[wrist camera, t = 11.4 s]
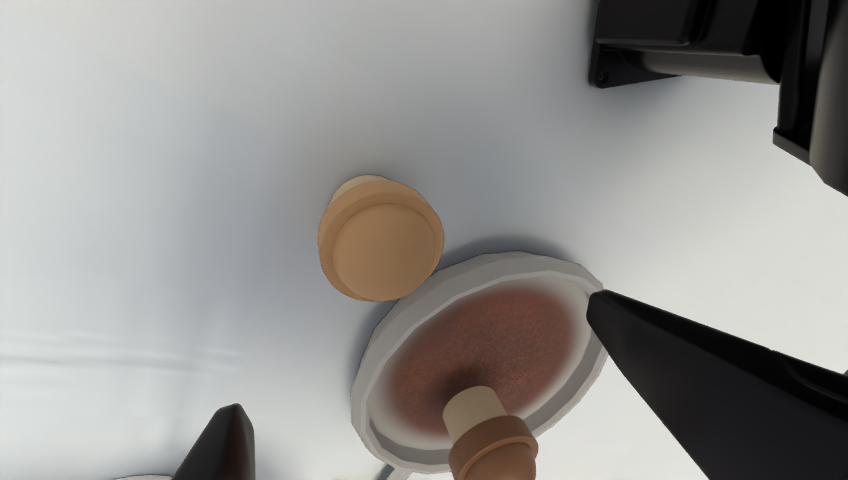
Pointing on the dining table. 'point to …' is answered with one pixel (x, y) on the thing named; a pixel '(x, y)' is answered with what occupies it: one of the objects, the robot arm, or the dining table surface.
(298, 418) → the dining table surface
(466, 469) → the brown mushroom
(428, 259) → the tan mushroom
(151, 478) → the white wavy slab sculpture
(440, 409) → the frying pan
